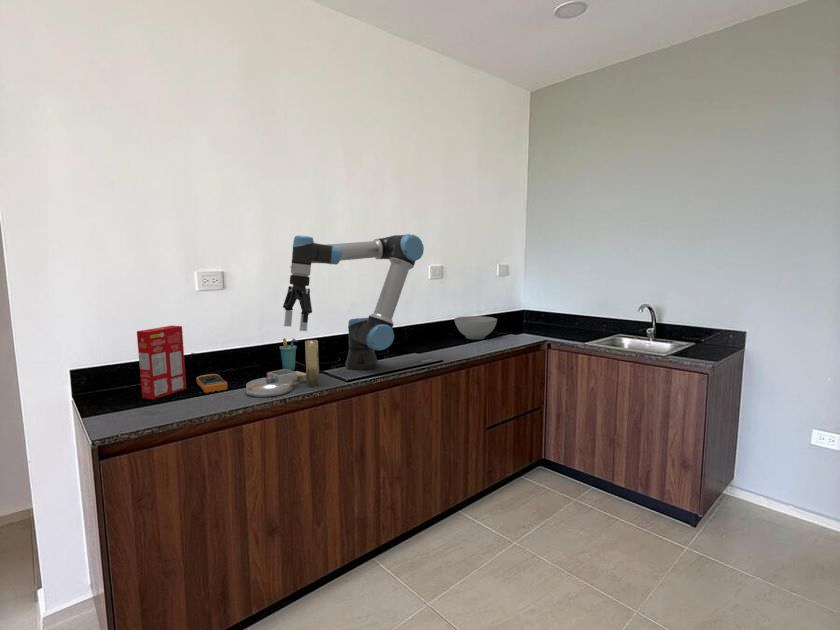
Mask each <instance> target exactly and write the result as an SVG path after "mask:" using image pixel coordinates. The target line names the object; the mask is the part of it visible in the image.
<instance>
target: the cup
mask: <svg viewBox="0 0 840 630" xmlns="http://www.w3.org/2000/svg"><path fill="white" fill-rule="evenodd" d="M294 342H295V343H299V341H298V339H295V338H293V339H291V342H290V344H288V342H287V338H286V337H284V338H283V339H282V343H283V345H282V346H279V350H280V357H281V364H282V369H288V370H291V371H295V369H296V357H297V356H296V355H297V353H296V352H297V347H298V346H297V345H295V344H294Z"/></svg>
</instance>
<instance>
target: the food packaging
mask: <svg viewBox="0 0 840 630" xmlns="http://www.w3.org/2000/svg"><path fill="white" fill-rule="evenodd" d="M183 337H184V336H183V326H182V325H167V326H162V327H156V328H155V327H154V328H149V329H142V330H137V331H136V339H137V350H138V351H137V353H138V363H139V364H138V365H139V375H140V376H139V377H140V387H141V398H142V399H144V398H146V399H145V400H150V399H151V400H152V401H154V400H156V398H157V399H159V398H163V397H166V396H169V395H172V394H176V393H179V392H181V390H182V391H184V389H185V390H187V379H186V366H185V352H184V349H185V347H184V338H183ZM178 391H179V392H178ZM153 399H154V400H153ZM151 400H150V401H151Z"/></svg>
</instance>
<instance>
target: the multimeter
mask: <svg viewBox="0 0 840 630" xmlns="http://www.w3.org/2000/svg"><path fill="white" fill-rule="evenodd" d="M196 384H197V385H198V386H199V387H200V389H202V391H203V393H205V394H209V392H211V393H215V391H217V392H221V391H222V390H223V391H227V389H228V382H227V381H226V380H224V378H222V377H221V375H219V374H217V373H212V374H210V373H209V374H203V375H200V376H197V377H196Z"/></svg>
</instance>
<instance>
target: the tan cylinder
mask: <svg viewBox="0 0 840 630" xmlns="http://www.w3.org/2000/svg"><path fill="white" fill-rule="evenodd" d="M304 346H305V348H304V349H305V370H306V371H305V373H306V379H307V382H306V387H309V388H310V387H312V388H313V387H318V386H320V364H319V363H320V360H319V359H320V358H319V341H318V340H317V339H310V340H308V339H307V340H305V341H304Z"/></svg>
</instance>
